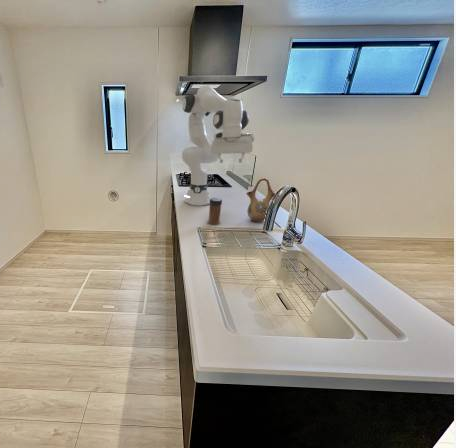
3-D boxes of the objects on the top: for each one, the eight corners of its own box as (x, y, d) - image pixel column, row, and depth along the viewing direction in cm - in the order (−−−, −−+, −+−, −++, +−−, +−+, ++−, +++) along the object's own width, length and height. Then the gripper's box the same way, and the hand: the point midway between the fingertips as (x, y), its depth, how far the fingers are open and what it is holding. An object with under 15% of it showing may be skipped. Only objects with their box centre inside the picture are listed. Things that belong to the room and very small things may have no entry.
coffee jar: (208, 220, 141) (210, 198, 136) (219, 221, 139) (221, 199, 134) (207, 224, 135) (209, 201, 130) (219, 225, 134) (221, 202, 128)
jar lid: (210, 201, 137) (210, 197, 136) (221, 202, 135) (222, 198, 134) (209, 205, 131) (209, 200, 130) (221, 206, 129) (221, 201, 128)
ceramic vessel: (268, 218, 143) (275, 176, 134) (274, 223, 135) (282, 180, 126) (240, 217, 144) (246, 176, 135) (244, 223, 136) (251, 179, 126)
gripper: (254, 133, 119) (252, 162, 122) (212, 136, 126) (211, 163, 130) (254, 132, 113) (252, 162, 117) (210, 135, 120) (210, 163, 124)
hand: (230, 162), depth 123 cm, fingers open, 8 cm apart
